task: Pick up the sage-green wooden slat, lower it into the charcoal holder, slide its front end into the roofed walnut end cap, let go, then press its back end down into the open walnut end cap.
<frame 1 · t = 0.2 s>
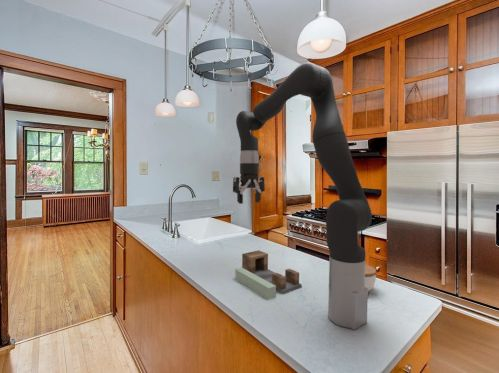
hand: (249, 202, 107), 28 cm above the countertop, tool pointing down, fingers open, 8 cm apart
slat: (254, 288, 93), on the countertop
holder: (269, 279, 100), on the countertop
lidded jar: (358, 290, 92), on the countertop
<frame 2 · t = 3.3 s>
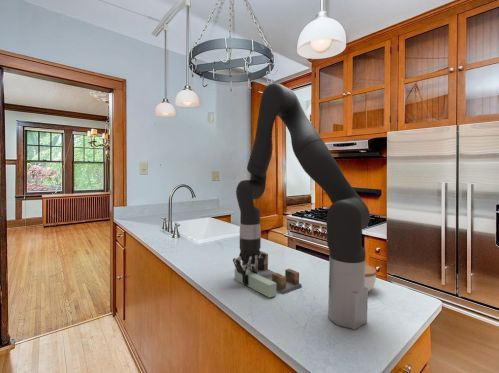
hand: (249, 283, 95), 1 cm above the countertop, tool pointing down, fingers closed on slat, 3 cm apart
slat: (254, 286, 93), on the countertop, touching gripper
everything else where it was.
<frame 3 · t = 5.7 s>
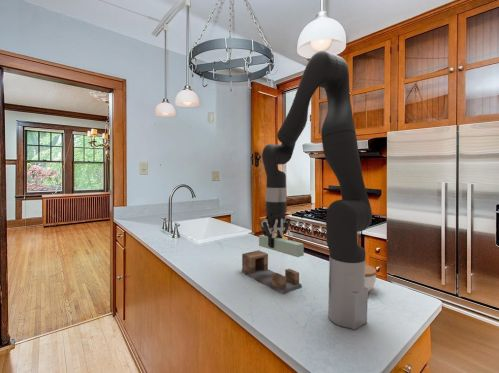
hand: (275, 246, 97), 13 cm above the countertop, tool pointing down, fingers closed on slat, 3 cm apart
slat: (279, 250, 95), point 12 cm above the countertop, touching gripper
everything else where it was.
when the fingers open (2 cm above the countertop, at t = 8.6 s): slat stays where it is, resting on holder.
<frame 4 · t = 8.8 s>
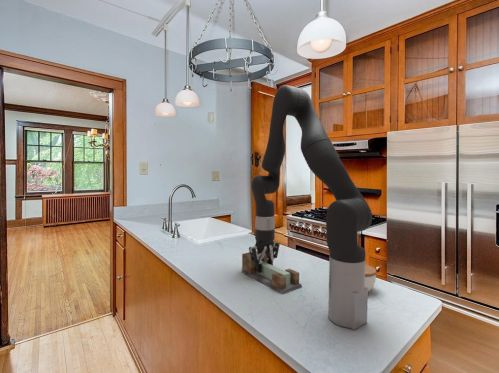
hand: (264, 270, 102), 2 cm above the countertop, tool pointing down, fingers open, 4 cm apart
slat: (268, 276, 101), point 1 cm above the countertop, touching holder
everything else where it was.
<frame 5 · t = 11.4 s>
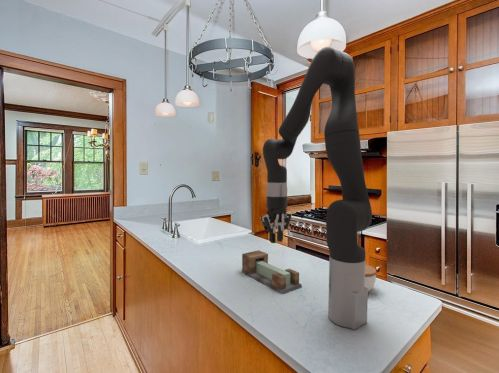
hand: (276, 241, 97), 15 cm above the countertop, tool pointing down, fingers open, 3 cm apart
nothing on the countertop moved.
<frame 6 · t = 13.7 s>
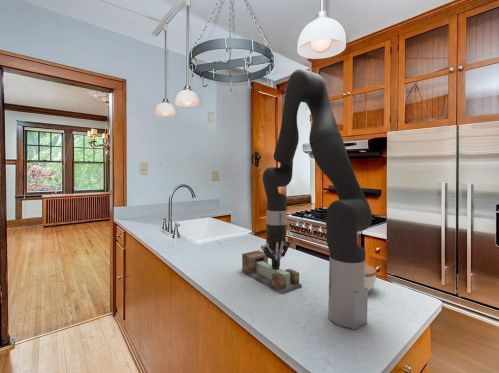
hand: (275, 268, 97), 5 cm above the countertop, tool pointing down, fingers closed
slat: (268, 276, 101), point 1 cm above the countertop, touching gripper, holder
everything else where it was.
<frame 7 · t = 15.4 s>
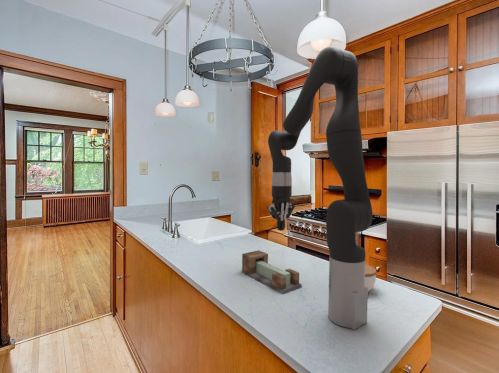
hand: (281, 230, 100), 19 cm above the countertop, tool pointing down, fingers closed
slat: (268, 276, 101), point 1 cm above the countertop, touching holder
everything else where it was.
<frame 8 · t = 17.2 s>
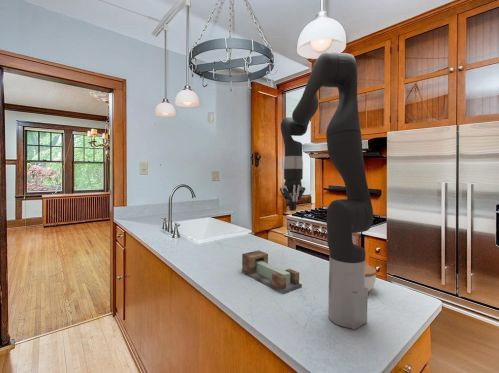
hand: (292, 210, 107), 25 cm above the countertop, tool pointing down, fingers closed
nothing on the countertop moved.
at the end: slat 0.3 cm from the target spot on the holder, point 1.0 cm above the holder's base; slat tilted 0°; the gripper is holding nothing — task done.
